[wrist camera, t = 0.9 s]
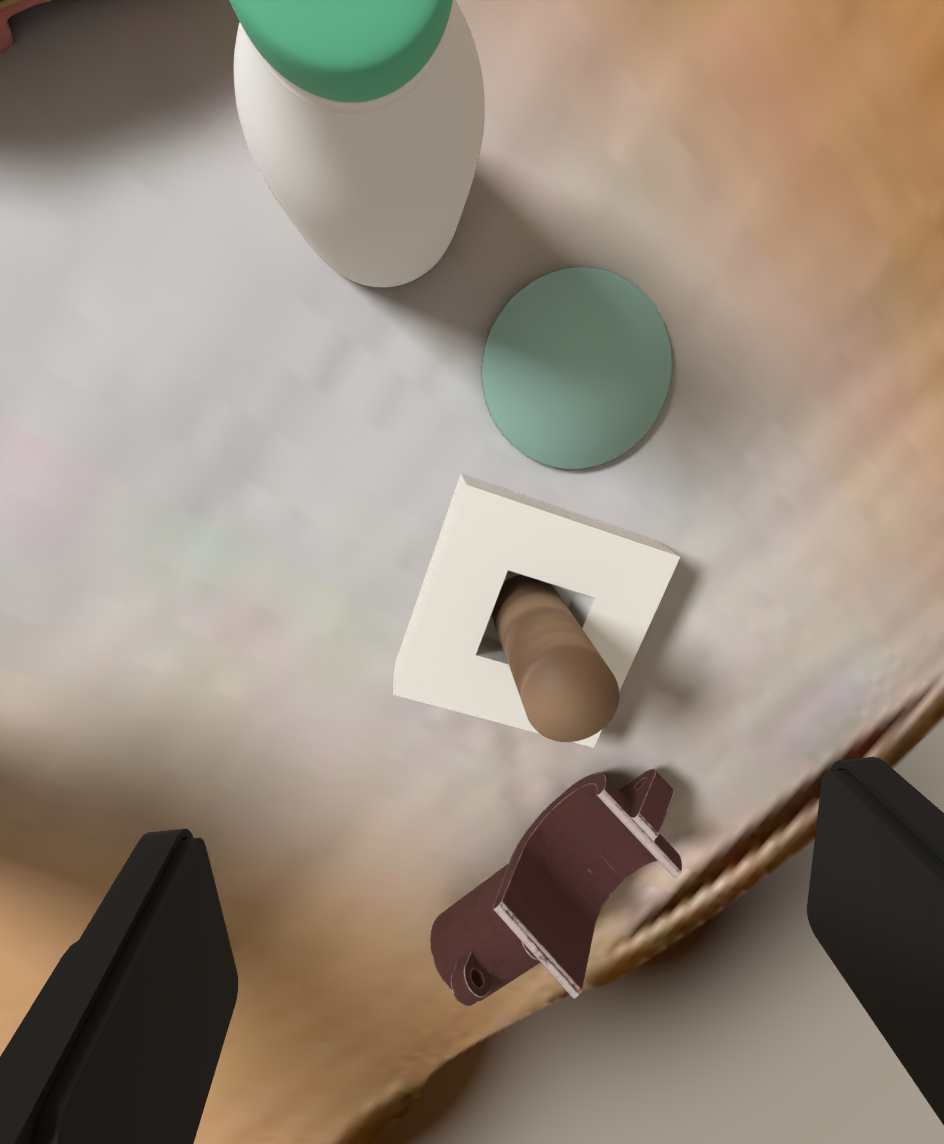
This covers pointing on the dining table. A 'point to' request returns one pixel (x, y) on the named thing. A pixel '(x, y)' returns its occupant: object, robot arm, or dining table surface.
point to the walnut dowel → (553, 662)
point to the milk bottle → (363, 125)
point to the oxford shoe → (4, 3)
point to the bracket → (554, 888)
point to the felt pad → (576, 368)
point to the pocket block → (538, 550)
